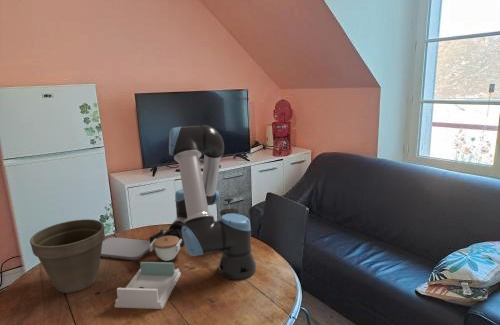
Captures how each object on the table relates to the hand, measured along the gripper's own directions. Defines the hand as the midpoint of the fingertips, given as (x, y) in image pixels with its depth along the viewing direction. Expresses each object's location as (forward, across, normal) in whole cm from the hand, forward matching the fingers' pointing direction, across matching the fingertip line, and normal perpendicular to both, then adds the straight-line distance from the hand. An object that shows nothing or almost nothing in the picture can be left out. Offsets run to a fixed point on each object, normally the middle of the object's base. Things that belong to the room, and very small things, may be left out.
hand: (163, 248), depth 142 cm
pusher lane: (+17, 0, -8) cm, 19 cm away
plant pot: (+14, +31, -8) cm, 35 cm away
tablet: (-14, +25, -9) cm, 30 cm away
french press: (-21, -24, -8) cm, 33 cm away
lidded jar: (-4, 0, -6) cm, 8 cm away
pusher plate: (+8, 0, -7) cm, 11 cm away
